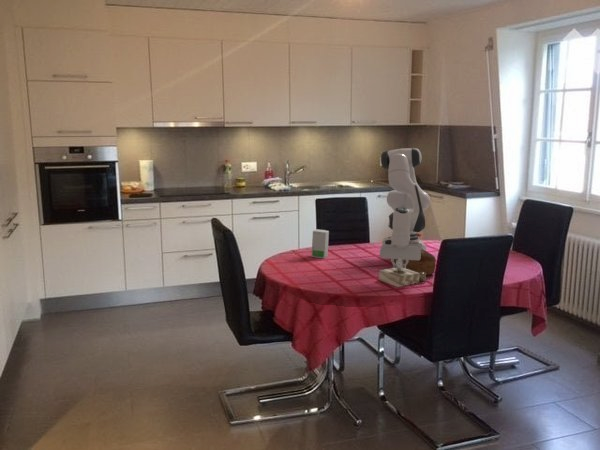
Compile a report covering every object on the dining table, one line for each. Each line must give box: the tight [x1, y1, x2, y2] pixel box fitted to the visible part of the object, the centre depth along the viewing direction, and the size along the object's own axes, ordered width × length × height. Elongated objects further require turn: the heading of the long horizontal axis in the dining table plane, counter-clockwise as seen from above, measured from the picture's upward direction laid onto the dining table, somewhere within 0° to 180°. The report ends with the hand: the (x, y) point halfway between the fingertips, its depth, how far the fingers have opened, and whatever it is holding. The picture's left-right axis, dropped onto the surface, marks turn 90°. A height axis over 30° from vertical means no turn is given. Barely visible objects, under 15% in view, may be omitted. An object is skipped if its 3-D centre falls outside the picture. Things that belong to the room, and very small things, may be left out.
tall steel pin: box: [396, 256, 404, 274], centre depth 288 cm, size 4×4×12 cm
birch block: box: [378, 267, 420, 288], centre depth 289 cm, size 14×14×5 cm
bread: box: [394, 249, 437, 276], centre depth 310 cm, size 14×28×12 cm, turn 22°
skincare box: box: [311, 228, 330, 259], centre depth 336 cm, size 8×7×16 cm
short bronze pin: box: [419, 272, 427, 283], centre depth 289 cm, size 4×4×4 cm
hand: (399, 267), depth 288 cm, fingers closed on tall steel pin, 3 cm apart
